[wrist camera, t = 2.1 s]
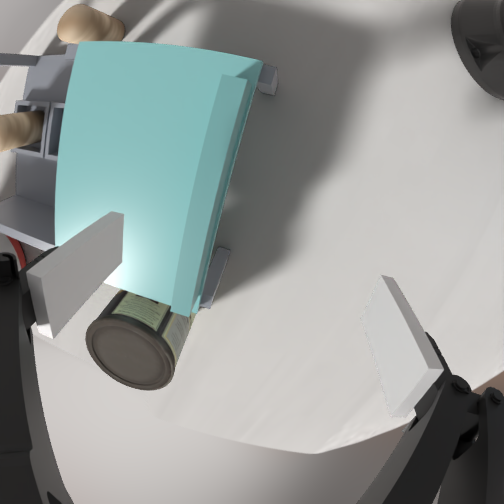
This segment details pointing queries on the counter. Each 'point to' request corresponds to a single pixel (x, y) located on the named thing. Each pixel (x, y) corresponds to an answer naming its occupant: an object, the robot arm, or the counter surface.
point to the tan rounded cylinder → (88, 25)
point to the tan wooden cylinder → (20, 129)
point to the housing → (46, 156)
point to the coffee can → (138, 340)
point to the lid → (153, 157)
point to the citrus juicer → (12, 249)
